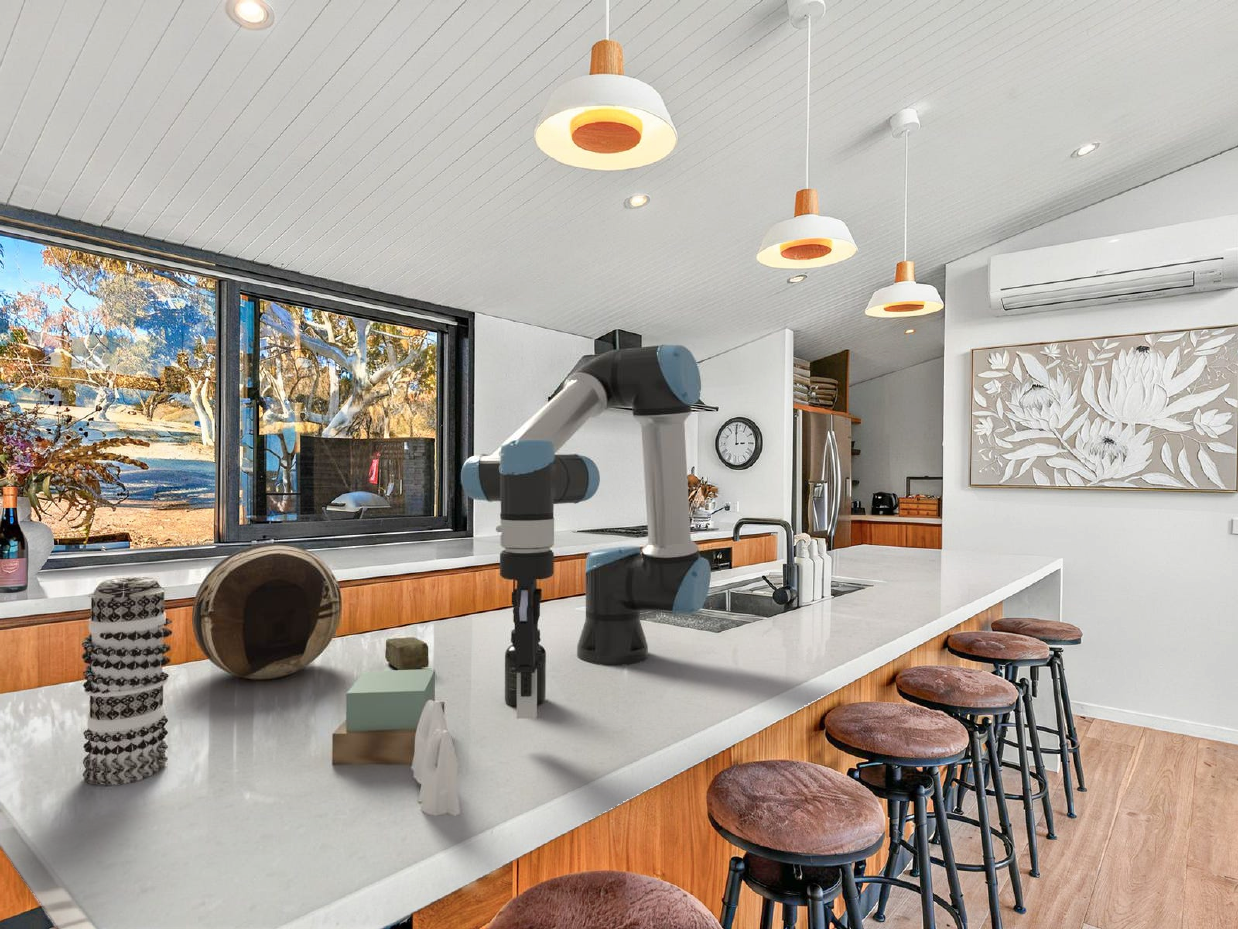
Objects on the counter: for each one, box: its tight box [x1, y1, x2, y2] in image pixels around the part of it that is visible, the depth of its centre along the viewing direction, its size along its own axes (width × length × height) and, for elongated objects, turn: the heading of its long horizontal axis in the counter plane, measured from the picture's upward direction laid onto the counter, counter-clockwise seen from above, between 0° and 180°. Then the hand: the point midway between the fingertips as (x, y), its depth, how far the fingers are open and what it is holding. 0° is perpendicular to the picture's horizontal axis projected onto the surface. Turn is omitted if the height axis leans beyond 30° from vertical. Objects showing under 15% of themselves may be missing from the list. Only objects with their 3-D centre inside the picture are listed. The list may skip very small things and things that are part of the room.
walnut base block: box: [331, 701, 445, 766], centre depth 96 cm, size 12×12×5 cm
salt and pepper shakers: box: [410, 700, 461, 817], centre depth 82 cm, size 12×4×11 cm, turn 23°
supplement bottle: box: [504, 628, 547, 708], centre depth 117 cm, size 7×7×12 cm
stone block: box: [384, 636, 430, 670], centre depth 135 cm, size 6×12×5 cm, turn 33°
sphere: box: [191, 542, 343, 681], centre depth 130 cm, size 25×25×25 cm
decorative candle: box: [81, 576, 173, 787], centre depth 87 cm, size 9×9×25 cm
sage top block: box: [345, 668, 436, 731], centre depth 96 cm, size 10×10×5 cm
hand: (526, 716), depth 97 cm, fingers closed
